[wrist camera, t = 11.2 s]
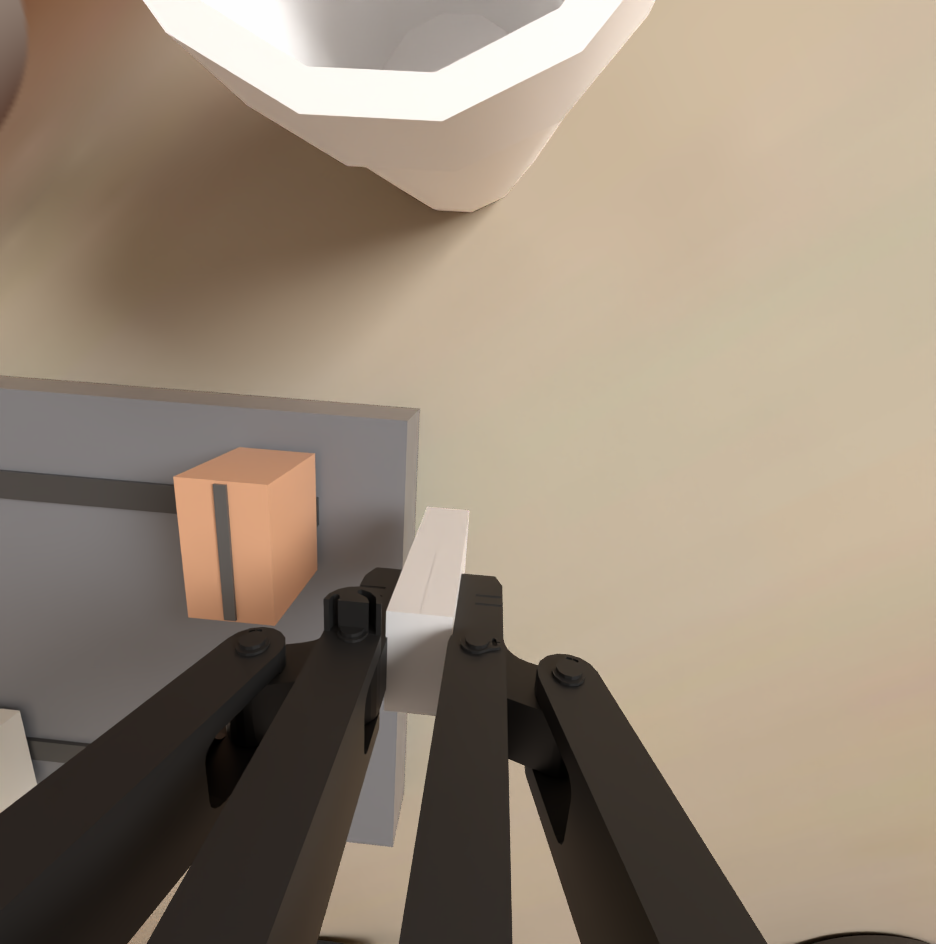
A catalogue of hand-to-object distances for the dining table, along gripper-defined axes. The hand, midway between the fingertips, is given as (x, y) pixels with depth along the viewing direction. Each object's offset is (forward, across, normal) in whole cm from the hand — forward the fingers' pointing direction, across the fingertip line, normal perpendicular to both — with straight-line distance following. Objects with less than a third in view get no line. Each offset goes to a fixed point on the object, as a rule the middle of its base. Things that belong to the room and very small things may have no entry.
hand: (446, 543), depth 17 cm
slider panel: (+5, +15, +7) cm, 17 cm away
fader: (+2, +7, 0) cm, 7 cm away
